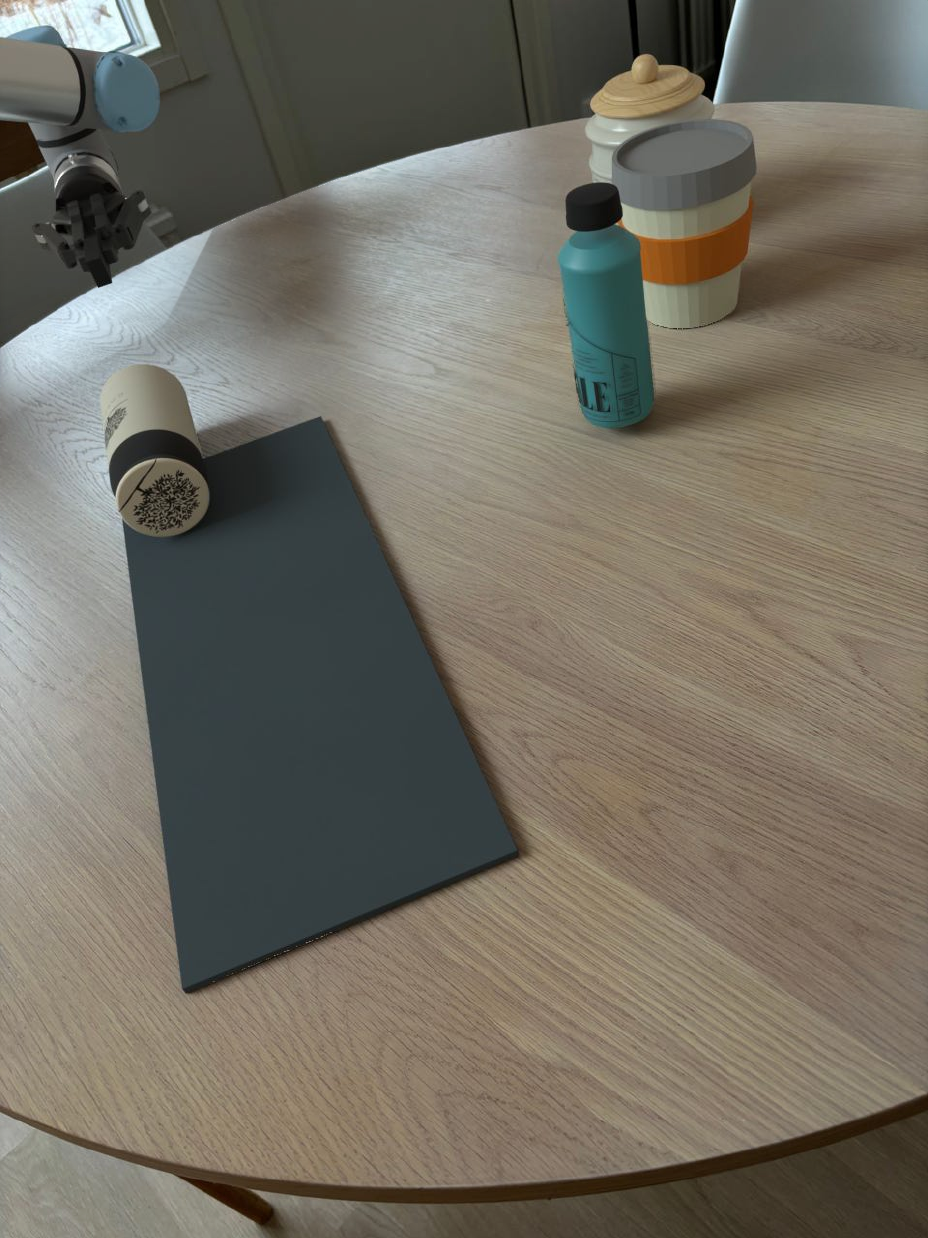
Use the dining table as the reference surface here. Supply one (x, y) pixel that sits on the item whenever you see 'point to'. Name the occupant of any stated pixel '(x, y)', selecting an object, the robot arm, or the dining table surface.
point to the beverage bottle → (606, 309)
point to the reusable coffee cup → (688, 215)
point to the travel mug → (153, 451)
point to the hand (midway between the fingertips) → (99, 272)
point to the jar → (641, 108)
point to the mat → (295, 716)
